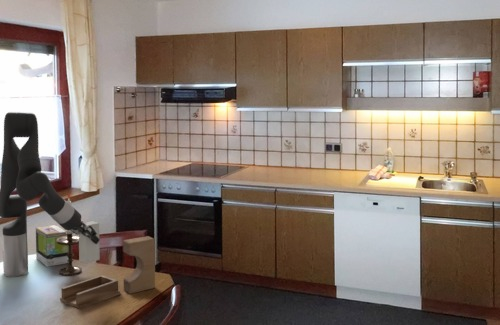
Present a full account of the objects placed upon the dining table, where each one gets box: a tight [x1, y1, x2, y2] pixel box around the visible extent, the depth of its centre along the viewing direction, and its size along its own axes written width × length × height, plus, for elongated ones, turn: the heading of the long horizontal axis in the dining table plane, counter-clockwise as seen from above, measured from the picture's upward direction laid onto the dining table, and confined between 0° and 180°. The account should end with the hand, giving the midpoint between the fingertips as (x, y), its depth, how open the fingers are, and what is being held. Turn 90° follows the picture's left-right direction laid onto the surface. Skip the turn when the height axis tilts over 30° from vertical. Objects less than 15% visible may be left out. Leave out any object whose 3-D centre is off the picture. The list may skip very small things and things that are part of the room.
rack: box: [59, 274, 121, 310], centre depth 198 cm, size 12×18×5 cm, turn 144°
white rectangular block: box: [78, 220, 101, 264], centre depth 195 cm, size 4×6×14 cm, turn 144°
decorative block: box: [122, 235, 156, 295], centre depth 206 cm, size 11×6×20 cm, turn 127°
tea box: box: [35, 224, 69, 267], centre depth 238 cm, size 15×10×15 cm, turn 39°
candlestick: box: [56, 190, 83, 277], centre depth 222 cm, size 11×11×35 cm
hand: (93, 240), depth 197 cm, fingers closed on white rectangular block, 4 cm apart
